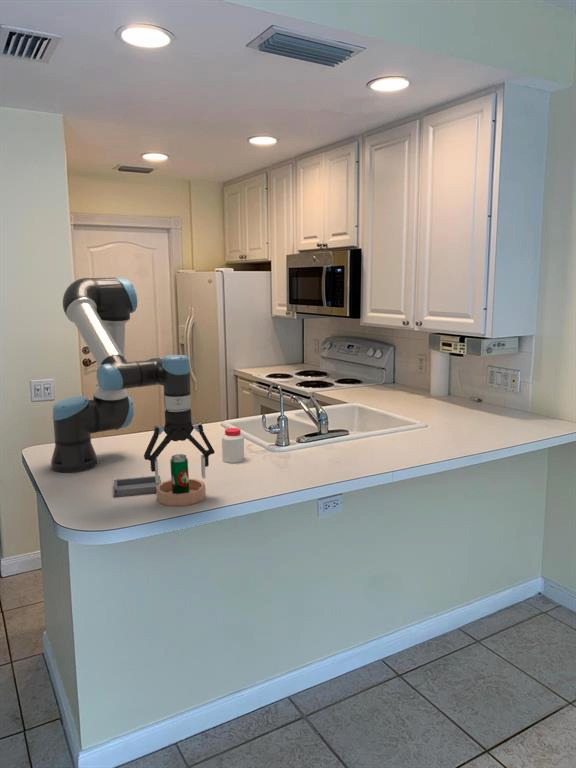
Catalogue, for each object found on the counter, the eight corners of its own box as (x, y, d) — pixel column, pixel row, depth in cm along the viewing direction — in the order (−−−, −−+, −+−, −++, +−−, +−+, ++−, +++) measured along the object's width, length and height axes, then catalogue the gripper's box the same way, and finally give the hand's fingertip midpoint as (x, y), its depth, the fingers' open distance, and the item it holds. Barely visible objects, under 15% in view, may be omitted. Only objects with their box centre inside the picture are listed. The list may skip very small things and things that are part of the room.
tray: (114, 496, 177) (114, 490, 176) (114, 485, 186) (113, 479, 186) (162, 492, 181) (162, 485, 180) (159, 481, 190) (159, 475, 190)
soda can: (173, 492, 178) (171, 454, 176) (190, 491, 179) (188, 453, 177) (171, 498, 174) (169, 459, 171) (188, 497, 174) (186, 458, 172)
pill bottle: (247, 457, 215) (247, 428, 213) (238, 463, 208) (238, 433, 206) (227, 455, 217) (227, 426, 216) (218, 461, 210) (218, 431, 208)
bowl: (158, 508, 168) (158, 497, 167) (155, 491, 181) (154, 481, 180) (208, 503, 172) (208, 491, 171) (201, 487, 185) (201, 476, 184)
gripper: (133, 414, 165) (137, 487, 168) (223, 408, 171) (224, 479, 175) (132, 409, 172) (136, 479, 175) (218, 403, 179) (220, 471, 182)
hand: (180, 479), depth 175 cm, fingers open, 13 cm apart
